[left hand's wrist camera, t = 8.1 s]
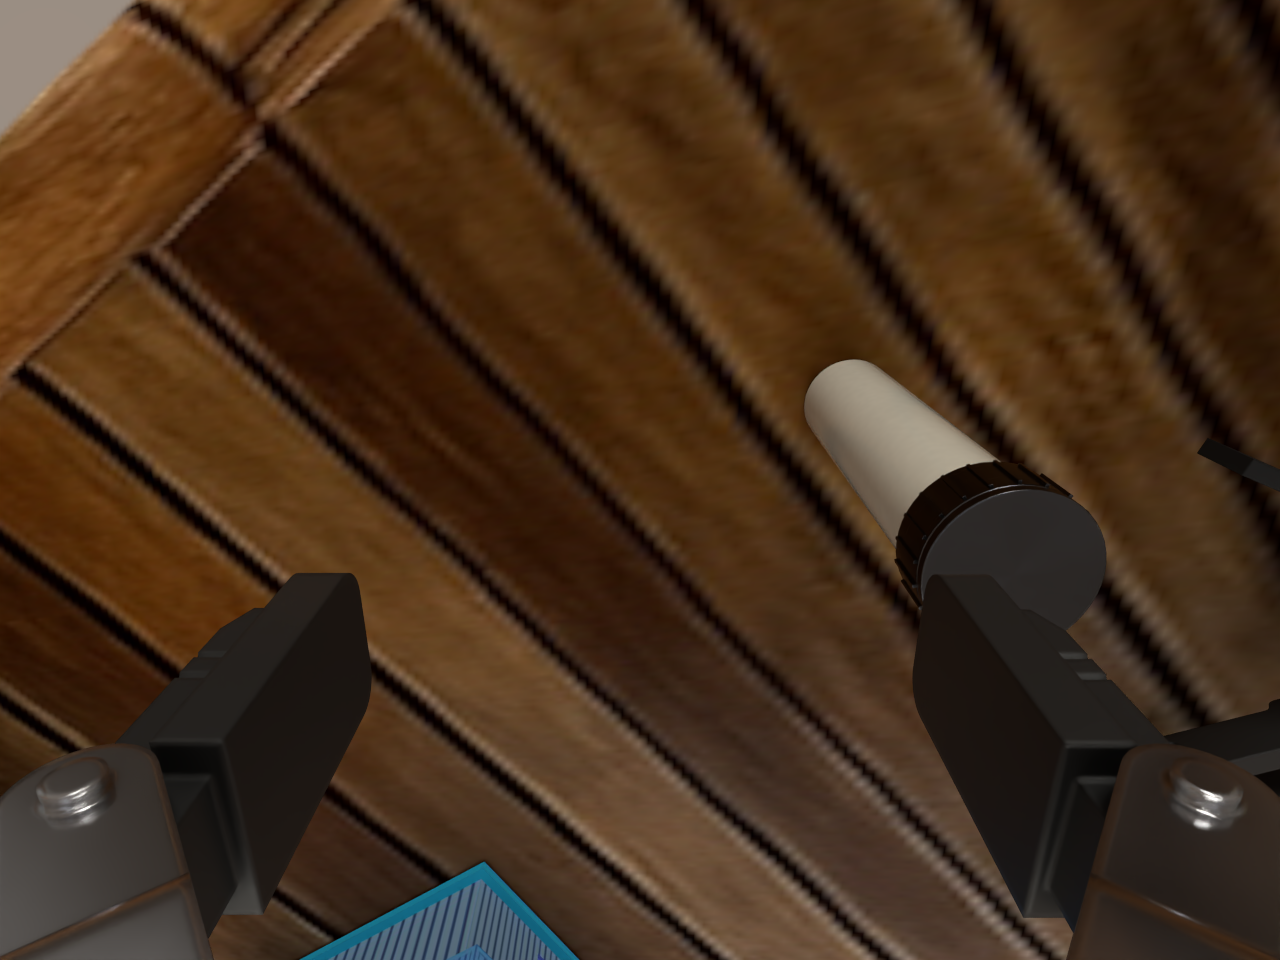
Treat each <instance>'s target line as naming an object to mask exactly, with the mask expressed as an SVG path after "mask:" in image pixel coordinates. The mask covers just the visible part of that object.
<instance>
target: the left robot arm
mask: <svg viewBox="0 0 1280 960" xmlns="http://www.w3.org/2000/svg"><path fill="white" fill-rule="evenodd" d="M370 691H371V664H370V657H369V650H368V643H367V637H366V630H365V623H364V616H363V609H362V603H361V596H360V590H359V585H358V582H357V580H356V578H355V576H354V575H353V574H351V573H296V574H294V575H293V576H292V577H291V578H290V579H289V580H288V581H287V582H286V583H285V585H284V586H283V587H282V588H281V589H280V590H279V591H278V593H277V594H276V595H275V596H274V597H273V598H272V600H271V601H270V602H269V603H268V604H267V605H266V607H265V608H254V609H252V610H250V611H249V612H247V613H245V614H244V615H242V616H240V617H239V618H237V619H235V620H234V621H232V622H230V623H229V624H227V625H225V626H224V627H222V628H220V629H219V631H218V632H217V633H216V634H215V635H214V636H213V637H212V638H211V639H210V640H209V641H208V643H207V644H206V645H205V646H204V647H203V648H202V649H201V650H200V651H199V652H198V657H194V658H193V659H192V660H191V661H190V662H189V663H188V664H187V665H186V666H185V668H184V669H183V670H182V671H181V672H180V677H179V678H174V680H173V681H172V682H171V683H170V684H169V685H168V686H167V687H166V688H165V689H164V690H163V691H162V693H161V694H160V695H159V696H158V697H157V698H156V699H155V700H154V701H153V702H152V703H151V705H150V706H149V707H148V708H147V709H146V710H145V711H144V712H143V713H142V714H141V715H140V716H139V718H138V719H137V720H136V721H135V722H134V723H133V724H132V725H131V726H130V727H129V728H128V730H127V731H126V732H125V733H124V734H123V735H122V736H121V737H120V738H119V739H118V740H117V742H116V743H115V744H107V745H99V746H95V747H90V748H86V749H83V750H79V751H76V752H73V753H70V754H67V755H65V756H62V757H60V758H57V759H55V760H53V761H51V762H49V763H47V764H45V765H43V766H41V767H39V768H38V769H36V770H34V771H32V772H31V773H29V774H28V775H26V776H25V777H23V778H22V779H20V780H19V781H18V782H17V783H15V784H14V785H13V786H12V787H11V788H9V789H8V790H7V791H6V792H5V793H4V794H3V795H2V797H1V798H0V960H214V958H213V955H212V951H211V948H210V944H209V940H208V938H209V937H210V935H211V933H212V931H213V930H214V928H215V926H216V924H217V922H218V921H219V919H220V917H221V915H263V913H264V911H265V909H266V907H267V905H268V903H269V901H270V899H271V897H272V895H273V893H274V891H275V889H276V887H277V886H278V884H279V882H280V880H281V878H282V876H283V874H284V872H285V870H286V868H287V866H288V864H289V862H290V860H291V858H292V856H293V854H294V852H295V850H296V848H297V846H298V844H299V842H300V840H301V838H302V836H303V834H304V832H305V830H306V828H307V826H308V825H309V823H310V821H311V819H312V817H313V815H314V813H315V811H316V809H317V807H318V805H319V803H320V801H321V799H322V797H323V795H324V793H325V791H326V789H327V787H328V785H329V783H330V781H331V779H332V777H333V775H334V773H335V771H336V769H337V767H338V765H339V763H340V762H341V760H342V758H343V756H344V754H345V752H346V750H347V748H348V746H349V744H350V742H351V740H352V738H353V736H354V734H355V732H356V730H357V728H358V726H359V724H360V722H361V720H362V718H363V716H364V714H365V712H366V709H367V706H368V702H369V698H370ZM913 692H914V698H915V703H916V707H917V710H918V713H919V715H920V717H921V719H922V721H923V723H924V725H925V727H926V729H927V731H928V733H929V735H930V737H931V739H932V741H933V743H934V745H935V747H936V749H937V750H938V752H939V754H940V756H941V758H942V760H943V762H944V764H945V766H946V768H947V770H948V772H949V774H950V776H951V778H952V780H953V782H954V784H955V785H956V787H957V789H958V791H959V793H960V795H961V797H962V799H963V801H964V803H965V805H966V807H967V809H968V811H969V813H970V815H971V817H972V819H973V820H974V822H975V824H976V826H977V828H978V830H979V832H980V834H981V836H982V838H983V840H984V842H985V844H986V846H987V848H988V850H989V852H990V854H991V855H992V857H993V859H994V861H995V863H996V865H997V867H998V869H999V871H1000V873H1001V875H1002V877H1003V879H1004V881H1005V883H1006V885H1007V887H1008V889H1009V890H1010V892H1011V894H1012V896H1013V898H1014V900H1015V902H1016V904H1017V906H1018V908H1019V910H1020V912H1021V914H1022V916H1023V918H1065V919H1066V921H1067V923H1068V924H1069V926H1070V928H1071V930H1072V931H1073V937H1072V940H1071V944H1070V948H1069V951H1068V955H1067V958H1066V960H1280V798H1279V797H1278V795H1277V794H1276V793H1275V792H1274V791H1273V790H1272V789H1271V788H1269V787H1268V786H1267V785H1266V784H1265V783H1263V782H1262V781H1261V780H1260V779H1258V778H1257V777H1255V776H1254V775H1252V774H1251V773H1249V772H1248V771H1246V770H1244V769H1242V768H1241V767H1239V766H1237V765H1235V764H1233V763H1231V762H1229V761H1227V760H1225V759H1223V758H1220V757H1218V756H1215V755H1213V754H1210V753H1207V752H1204V751H1201V750H1197V749H1194V748H1190V747H1185V746H1181V745H1173V744H1170V743H1169V742H1168V741H1167V740H1166V739H1165V737H1164V736H1163V735H1162V734H1161V733H1160V732H1159V731H1158V730H1157V729H1156V728H1155V727H1154V726H1153V725H1152V723H1151V722H1150V721H1149V720H1148V719H1147V718H1146V717H1145V716H1144V715H1143V714H1142V713H1141V712H1140V711H1139V709H1138V708H1137V707H1136V706H1135V705H1134V704H1133V703H1132V702H1131V701H1130V700H1129V699H1128V698H1127V697H1126V695H1125V694H1124V693H1123V692H1122V691H1121V690H1120V689H1119V688H1118V687H1117V686H1116V685H1115V684H1114V682H1113V681H1112V680H1107V679H1106V674H1105V673H1104V672H1103V671H1102V670H1101V668H1100V667H1099V666H1098V665H1097V664H1096V663H1095V662H1094V661H1093V660H1092V659H1088V658H1087V653H1086V652H1085V651H1084V650H1083V649H1082V648H1081V647H1080V646H1079V645H1078V644H1077V643H1076V642H1075V640H1074V639H1073V638H1072V637H1071V636H1070V635H1069V634H1068V633H1067V632H1066V631H1065V630H1064V629H1062V628H1061V627H1059V626H1057V625H1056V624H1054V623H1052V622H1051V621H1049V620H1047V619H1046V618H1044V617H1042V616H1041V615H1039V614H1037V613H1036V612H1034V611H1032V610H1021V609H1020V608H1019V607H1018V606H1017V604H1016V603H1015V602H1014V601H1013V600H1012V599H1011V597H1010V596H1009V595H1008V594H1007V593H1006V592H1005V591H1004V589H1003V588H1002V587H1001V586H1000V585H999V584H998V583H997V581H996V580H995V579H994V578H993V577H992V576H990V575H987V574H934V575H932V576H931V577H930V578H929V580H928V582H927V584H926V588H925V593H924V599H923V606H922V612H921V619H920V626H919V633H918V639H917V646H916V653H915V659H914V666H913Z"/></svg>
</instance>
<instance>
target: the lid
mask: <svg viewBox="0 0 1280 960" xmlns="http://www.w3.org/2000/svg"><path fill="white" fill-rule="evenodd" d="M1072 497H1073V495H1071V494H1070V493H1069V492H1067V491H1066V490H1064V489H1063V488H1062V487H1060V486H1059V485H1058V484H1056V483H1055V482H1053V481H1052V480H1051V479H1049V478H1048V477H1046V476H1045V475H1044V474H1042V473H1041V475H1038V474H1037V473H1036V472H1034V471H1032V470H1030V469H1029V468H1027V467H1026V466H1025V465H1023V464H1021V463H1019V464H1018V465H1016V464H1012V463H1006V462H998V461H997V460H993V462H981V463H976V464H971V465H970V464H966V466H964V467H961V468H958V469H956V470H953V471H951V472H949V473H947V474H945V475H942V476H940V478H938V479H937V480H936V481H934V482H933V483H932V484H930V485H929V486H928V487H927V488H926V489H924V490H923V491H921V492H920V493H919V495H918V497H917V498H916V499H915V500H914V501H913V503H912V504H911V506H910V507H909V509H908V510H907V512H906V513H904V515H903V516H904V518H903V520H902V522H901V525H900V528H899V531H898V536H896V537H895V539H896V558H897V559H894V560H895V563H896V564H897V566H898V568H899V571H900V574H901V576H902V578H903V580H901V582H902V584H903V585H904V587H905V588H906V590H907V591H908V593H909V594H910V596H911V597H912V599H913V600H914V602H915V603H916V605H917V606H918V608H919V609H920V610H922V606H923V599H924V593H925V588H926V584H927V582H928V580H929V578H930V577H931V576H932V575H934V574H987V575H990V576H992V577H993V578H994V579H995V580H996V581H997V583H998V584H999V585H1000V586H1001V587H1002V588H1003V589H1004V591H1005V592H1006V593H1007V594H1008V595H1009V596H1010V597H1011V599H1012V600H1013V601H1014V602H1015V603H1016V604H1017V606H1018V607H1019V608H1020V609H1021V610H1032V611H1034V612H1036V613H1037V614H1039V615H1041V616H1042V617H1044V618H1046V619H1047V620H1049V621H1051V622H1052V623H1054V624H1056V625H1057V626H1059V627H1061V628H1062V629H1064V630H1065V631H1066V630H1067V629H1068V628H1069V627H1071V626H1072V625H1073V624H1074V623H1075V622H1076V621H1077V620H1078V619H1079V618H1080V617H1081V616H1082V615H1083V614H1084V613H1085V612H1086V610H1087V609H1088V608H1089V607H1090V605H1091V604H1092V602H1093V600H1094V599H1095V597H1096V595H1097V593H1098V591H1099V589H1100V587H1101V584H1102V581H1103V578H1104V574H1105V568H1106V547H1105V541H1104V538H1103V535H1102V532H1101V530H1100V528H1099V526H1098V524H1097V522H1096V521H1095V520H1094V518H1093V517H1092V516H1091V514H1090V513H1089V512H1088V511H1087V510H1086V509H1085V508H1084V507H1082V506H1081V505H1080V504H1078V503H1077V502H1076V501H1074V500H1073V499H1071V498H1072Z"/></svg>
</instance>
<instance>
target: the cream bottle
mask: <svg viewBox="0 0 1280 960" xmlns="http://www.w3.org/2000/svg"><path fill="white" fill-rule="evenodd" d="M804 411H805V417H806V421H807V423H808V425H809V427H810V429H811V430H812V432H813V433H814V435H815V436H816V437H817V439H818V440H819V442H820V443H821V444H822V446H823V447H824V449H825V450H826V452H827V453H828V454H829V456H830V457H831V459H832V460H833V461H834V463H835V464H836V466H837V467H838V468H839V470H840V471H841V473H842V474H843V475H844V477H845V478H846V480H847V481H848V483H849V484H850V485H851V487H852V488H853V490H854V491H855V492H856V494H857V495H858V497H859V498H860V499H861V501H862V502H863V504H864V505H865V506H866V508H867V509H868V511H869V512H870V514H871V515H872V516H873V518H874V519H875V521H876V522H877V523H878V525H879V526H880V528H881V529H882V530H883V532H884V533H885V535H886V536H887V538H888V539H889V540H890V542H891V543H892V545H893V546H894V547H895V549H896V539H895V537H896V536H898V531H899V528H900V525H901V522H902V520H903V518H904V516H903V515H904V513H906V512H907V510H908V509H909V507H910V506H911V504H912V503H913V501H914V500H915V499H916V498H917V497H918V495H919V493H920V492H921V491H923V490H924V489H926V488H927V487H928V486H929V485H930V484H932V483H933V482H934V481H936V480H937V479H938V478H940V476H942V475H945V474H947V473H949V472H951V471H953V470H956V469H958V468H961V467H964V466H966V464H970V465H971V464H976V463H981V462H993V460H997V461H998V462H1001V461H999V460H998V459H997V458H996V457H994V456H993V455H992V454H990V453H989V452H988V451H986V450H985V449H984V448H983V447H981V446H980V445H979V444H977V443H976V442H975V441H973V440H972V439H971V438H970V437H968V436H967V435H966V434H964V433H963V432H962V431H960V430H959V429H958V428H957V427H955V426H954V425H953V424H951V423H950V422H949V421H948V420H946V419H945V418H944V417H942V416H941V415H940V414H938V413H937V412H936V411H935V410H933V409H932V408H931V407H929V406H928V405H927V404H925V403H924V402H923V401H922V400H920V399H919V398H918V397H916V396H915V395H914V394H913V393H911V392H910V391H909V390H907V389H906V388H905V387H903V386H902V385H901V384H900V383H898V382H897V381H896V380H894V379H893V378H892V377H890V376H889V375H888V374H887V373H885V372H884V371H883V370H881V369H880V368H879V367H877V366H876V365H874V364H872V363H869V362H866V361H862V360H845V361H841V362H838V363H835V364H833V365H831V366H829V367H827V368H826V369H824V370H823V371H822V372H821V373H820V374H819V375H818V376H817V377H816V378H815V379H814V381H813V382H812V383H811V385H810V387H809V389H808V391H807V394H806V398H805V404H804Z"/></svg>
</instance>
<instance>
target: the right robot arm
mask: <svg viewBox="0 0 1280 960" xmlns="http://www.w3.org/2000/svg"><path fill="white" fill-rule="evenodd" d="M1198 454H1200V455H1202V456H1204V457H1206V458H1208V459H1210V460H1212V461H1214V462H1216V463H1218V464H1220V465H1222V466H1224V467H1226V468H1228V469H1230V470H1232V471H1234V472H1237V473H1239V474H1241V475H1243V476H1245V477H1247V478H1250V479H1252V480H1254V481H1257V482H1259V483H1261V484H1263V485H1266V486H1268V487H1270V488H1273V489H1275V490H1277V491H1280V469H1277V468H1275V467H1273V466H1271V465H1268V464H1266V463H1264V462H1261V461H1259V460H1257V459H1255V458H1252V457H1250V456H1248V455H1245V454H1243V453H1241V452H1239V451H1236V450H1234V449H1232V448H1230V447H1227V446H1225V445H1223V444H1220V443H1218V442H1216V441H1214V440H1211V439H1209V438H1207V440H1206V441H1205V443H1204V444H1203V445H1202V447H1201V448H1200V450H1199V451H1198ZM1164 737H1165V739H1166V740H1167V741H1168V742H1169V743H1170V744H1173V745H1181V746H1185V747H1190V748H1194V749H1197V750H1201V751H1204V752H1207V753H1210V754H1213V755H1215V756H1218V757H1220V758H1223V759H1225V760H1227V761H1229V762H1231V763H1233V764H1235V765H1237V766H1239V767H1241V768H1242V769H1244V770H1246V771H1248V772H1249V773H1251V774H1252V775H1254V776H1255V777H1257V778H1258V779H1260V780H1261V781H1262V782H1263V783H1265V784H1266V785H1267V786H1268V787H1269V788H1271V789H1272V790H1273V791H1274V792H1275V793H1276V794H1277V795H1278V797H1279V798H1280V699H1277V700H1273V701H1271V702H1270V703H1269V709H1268V710H1266V711H1262V712H1258V713H1254V714H1250V715H1246V716H1242V717H1238V718H1234V719H1230V720H1226V721H1222V722H1218V723H1214V724H1210V725H1206V726H1202V727H1198V728H1194V729H1190V730H1186V731H1182V732H1178V733H1174V734H1170V735H1166V736H1164Z"/></svg>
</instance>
